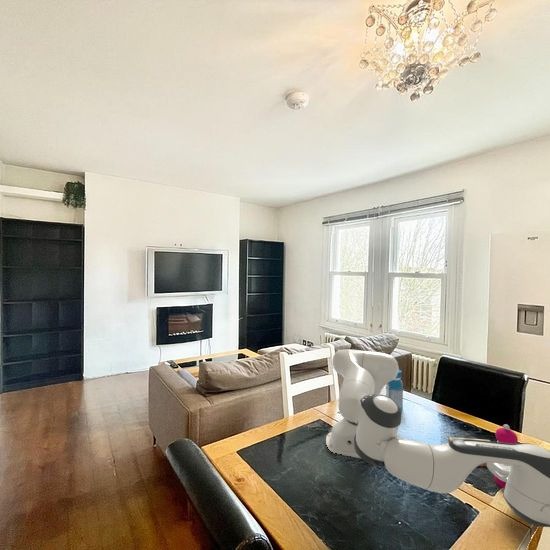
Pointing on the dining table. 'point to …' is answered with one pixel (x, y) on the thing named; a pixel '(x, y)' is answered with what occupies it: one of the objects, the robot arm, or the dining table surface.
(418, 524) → the dining table surface
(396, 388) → the beverage bottle
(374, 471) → the dining table surface
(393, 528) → the dining table surface
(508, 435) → the pepper mill
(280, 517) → the dining table surface
